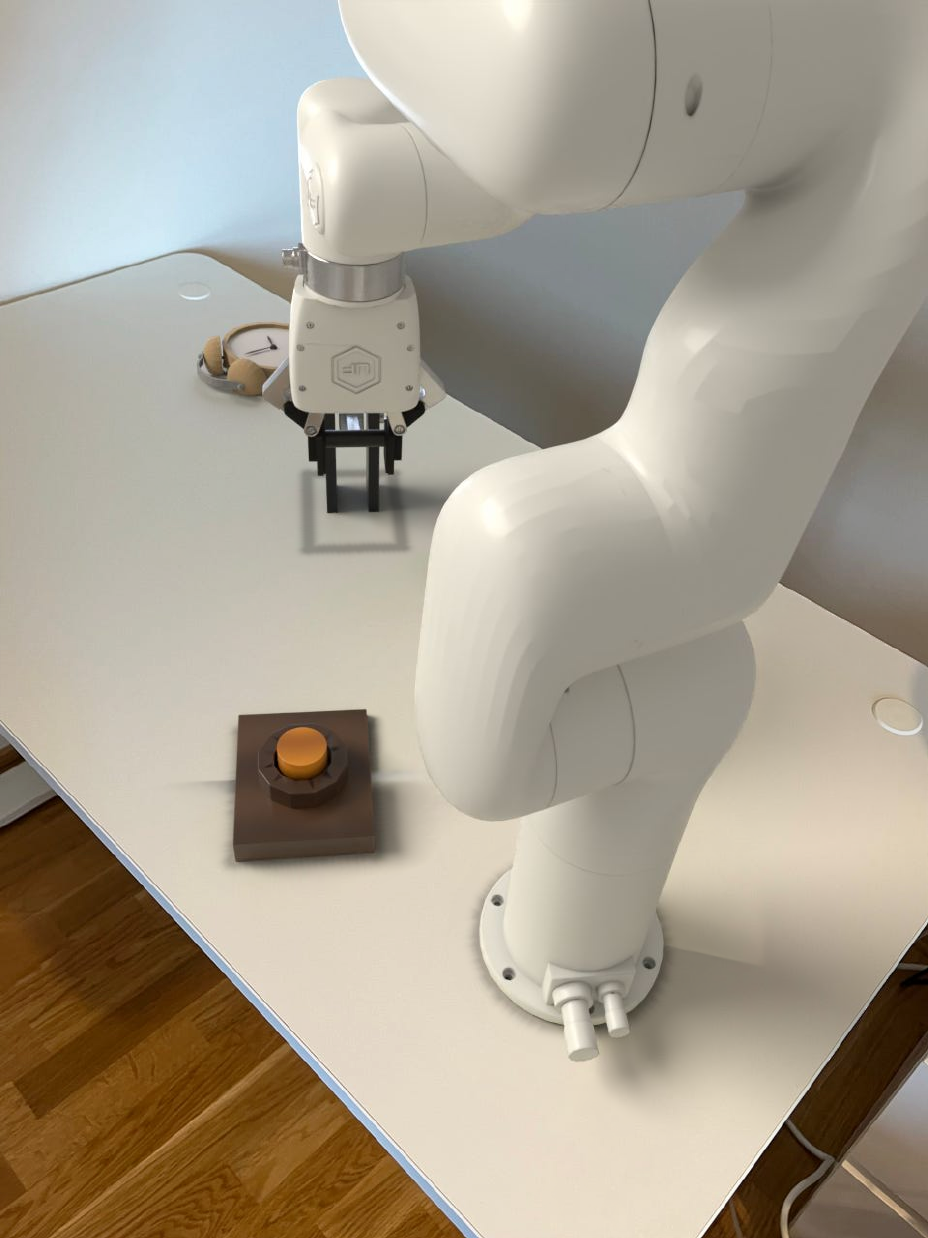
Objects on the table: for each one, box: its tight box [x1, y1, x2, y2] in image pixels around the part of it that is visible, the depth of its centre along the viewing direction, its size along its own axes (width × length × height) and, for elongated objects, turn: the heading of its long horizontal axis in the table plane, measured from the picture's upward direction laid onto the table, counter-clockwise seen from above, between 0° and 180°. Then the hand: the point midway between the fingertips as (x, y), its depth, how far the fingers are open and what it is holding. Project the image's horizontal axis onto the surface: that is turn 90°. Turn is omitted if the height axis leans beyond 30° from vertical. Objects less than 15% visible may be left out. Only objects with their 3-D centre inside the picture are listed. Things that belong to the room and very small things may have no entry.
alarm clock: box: [196, 321, 290, 397], centre depth 121 cm, size 11×5×15 cm
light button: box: [277, 727, 327, 780], centre depth 78 cm, size 4×4×2 cm
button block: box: [232, 708, 376, 862], centre depth 80 cm, size 12×10×4 cm
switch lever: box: [325, 413, 386, 449], centre depth 94 cm, size 12×5×2 cm, turn 7°
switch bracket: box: [323, 413, 385, 514], centre depth 102 cm, size 12×9×13 cm
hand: (355, 463), depth 91 cm, fingers closed on switch lever, 5 cm apart
